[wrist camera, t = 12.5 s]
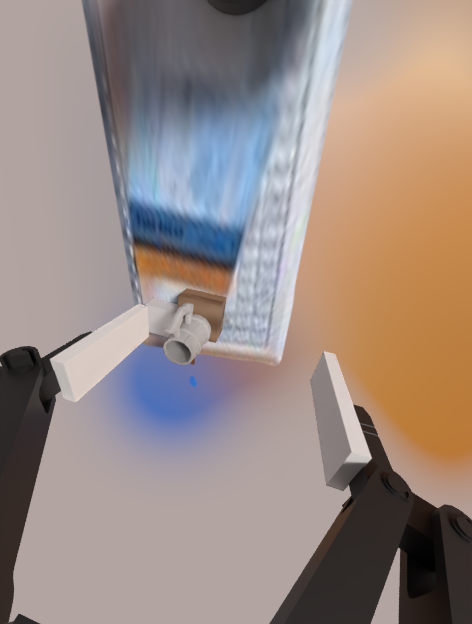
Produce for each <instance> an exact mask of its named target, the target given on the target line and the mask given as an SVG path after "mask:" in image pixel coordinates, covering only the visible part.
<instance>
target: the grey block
mask: <svg viewBox="0 0 472 624" xmlns="http://www.w3.org/2000/svg"><path fill="white" fill-rule="evenodd" d="M145 306H148V324H149V332H151V333H154V334H158V335H162V336H165V337H169V335H170V334H169V333H166V332H164V330H165V329H166V328H167V327H168V326H169V324H170V322H171V320H172V318H173V316H174V315H175V313H176V311H177V309H178V304H175V303H171V302H167V301H163V300H159V299H155V298H154V299H153V300H151V301H150V302H148V303H147V304H145Z"/></svg>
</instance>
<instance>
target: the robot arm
mask: <svg viewBox="0 0 472 624" xmlns="http://www.w3.org/2000/svg"><path fill="white" fill-rule="evenodd" d="M208 1H209V3H210V4H211V5H213V6H214V7H215V8H216V9H218V10H220V11H221V12H224V13H227V14H232V15H240V14H245V13H248V12H250V11H252V10H254V9H256V8H257V7H259V6H260V5H262V4H263V3H264V2H265V1H266V0H208ZM147 337H149V324H148V306H144V305H140V304H138V305H136V306H134V307H133V308H131V309H130V310H128V311H126V312H125V313H123V314H121V315H120V316H118V317H117V318H115V319H114V320H112V321H110V322H109V323H107V324H105V325H104V326H102V327H101V328H99V329H97V330H96V331H94V332H88V333H85V334H82V335H80V336H78V337H76V338H75V339H73V340H72V341H70V342H68V343H66V345H63V346H61V347H60V348H58V349H56V350H55V351H53V352H51V353H50V354H48V355H46V356H45V357H43V358H41V357H40V355H39V352H38V350H37V349H36V348H35V347H31V346H24V347H19V348H15V349H12V350H9V351H7V352H5V353H3V354H2V355H1V356H0V362H1V364H2V367H1V366H0V624H39V623H37V622H35V621H33V620H31V619H29V618H27V617H25V616H23V615H21V614H18V616H17V617H16V619H15V620H14V621H13V622H10V623H8V622H9V617H10V613H11V608H12V603H13V596H14V583H13V571H14V566H15V562H16V557H17V553H18V550H19V546H20V542H21V538H22V534H23V530H24V526H25V522H26V518H27V514H28V510H29V506H30V502H31V498H32V494H33V490H34V486H35V482H36V478H37V474H38V470H39V466H40V462H41V458H42V454H43V450H44V446H45V442H46V438H47V434H48V430H49V426H50V422H51V418H52V413H53V409H54V406H55V402H56V398H55V395H56V394H57V393H59V392H60V391H61V392H62V396H63V398H64V399H67V400H70V401H73V402H77V401H78V400H79V399H80V398H81V397H82V396H84V395H85V394H86V393H87V392H88V391H89V390H90V389H91V388H92V387H93V386H94V385H96V384H97V383H98V382H99V381H100V380H101V379H102V378H103V377H104V376H106V375H107V374H108V373H109V372H110V371H111V370H112V369H113V368H114V367H116V366H117V365H118V364H119V363H120V362H121V361H122V360H123V359H124V358H125V357H127V356H128V355H129V354H130V353H131V352H132V351H133V350H134V349H135V348H136V347H138V346H139V345H140V344H141V343H142V342H143V341H144V340H145V339H146V338H147ZM310 381H311V387H312V394H313V401H314V407H315V414H316V420H317V427H318V434H319V441H320V447H321V454H322V461H323V467H324V474H325V481H326V485H327V486H330V487H333V488H336V489H339V490H342V491H344V490H345V488H346V487H347V486H348V485H349V487H350V491H351V496H350V498H349V499H348V500H347V501H346V502H345V503H344V504H343V505H342V506H343V508H342V510H341V512H340V513H339V515H338V516H337V518H336V519H335V521H334V523H333V524H332V526H331V528H330V529H329V531H328V532H327V534H326V535H325V537H324V538H323V540H322V542H321V543H320V545H319V546H318V548H317V550H316V551H315V553H314V554H313V556H312V557H311V559H310V561H309V562H308V564H307V565H306V567H305V569H304V570H303V572H302V573H301V575H300V576H299V578H298V580H297V581H296V583H295V584H294V586H293V587H292V589H291V591H290V592H289V594H288V595H287V597H286V599H285V600H284V602H283V603H282V605H281V606H280V608H279V610H278V611H277V613H276V615H275V616H274V618H273V619H272V621H271V622H270V624H371V621H372V618H373V616H374V613H375V610H376V607H377V604H378V602H379V599H380V596H381V593H382V590H383V588H384V585H385V582H386V579H387V577H388V574H389V571H390V568H391V565H392V563H393V560H394V557H395V554H396V552H397V549H398V548H400V587H399V624H472V520H471V519H470V518H469V517H468V516H467V515H465V514H464V513H463V512H462V511H460V510H459V509H457V508H455V507H453V506H451V505H443V506H441V507H439V508H436V507H435V506H433V505H431V504H430V503H428V502H427V501H425V500H423V499H422V498H420V497H419V496H417V495H415V494H414V493H413V492H411V489H410V488H409V486H408V485H407V483H406V482H405V481H404V480H403V479H402V478H401V476H400V475H398V474H397V473H396V472H394V471H393V469H392V467H391V465H390V463H389V460H388V458H387V456H386V453H385V451H384V448H383V446H382V443H381V441H380V439H379V437H378V434H377V431H376V429H375V428H374V424H373V422H372V419H371V417H370V416H369V415H368V413H367V412H366V411H365V409H364V408H363V407H360V406H356V405H353V403H352V401H351V398H350V395H349V392H348V389H347V387H346V384H345V381H344V378H343V376H342V373H341V370H340V367H339V364H338V361H337V358H336V355H335V354H333V353H329V352H325V351H324V352H323V353H322V356H321V358H320V360H319V362H318V364H317V367H316V369H315V371H314V373H313V376H312V378H311V380H310Z"/></svg>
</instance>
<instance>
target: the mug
mask: <svg viewBox="0 0 472 624" xmlns="http://www.w3.org/2000/svg"><path fill="white" fill-rule="evenodd" d="M193 308H194V305H193V304H191V303H184V304H183V305H182V306H180V307H179V308H178V309H177V311H176V313H175V315H174V316H173V318H172V320H171V322H170V324H169V326H168V327H167V328H166V329H165V330H164V332H166V333H169V334H170V335H169V338H168V339H167V340H166V342H165V343H164V346H163V350H164V352H165V355H166V357H167V358H168V359H169V360H170V361H173V363H176V364H181V365H186V364H189V363H190V362H191V361H192V360H193V358H194V357H195V356H196V355H198V354H199V353H200V351H201V348H202V346H203V344H205V343H206V342H207V341H208V340H209V338H210V333H211V326H210V324H209V323H208V321H207V320H206V319H205V318H203V317H202V316H200V315H196V314H193ZM184 315H185V318H183V316H184Z"/></svg>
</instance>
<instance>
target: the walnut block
mask: <svg viewBox="0 0 472 624" xmlns="http://www.w3.org/2000/svg"><path fill="white" fill-rule="evenodd" d="M184 303H191V304H193V305H194V308H193V314H196V315H200V316H202V317H203V318H205V319H206V320H207V321H208V323H209V324H210V326H211V333H210V338H209V340H208V341H211V342H215V343H216V341H217V339H218V337H219V335H220V334H221V331H222V324H223V317H224V310H225V304H226V297H221V296H217V295H213V294H209V293H205V292H200V291H196V290H192V289H188V288H187V289H186V290H185V291H183V292H182V293H181V294H180V295H178V308H179V307H180V306H182V305H183V304H184ZM183 318H185V315H184V316H183Z"/></svg>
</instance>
